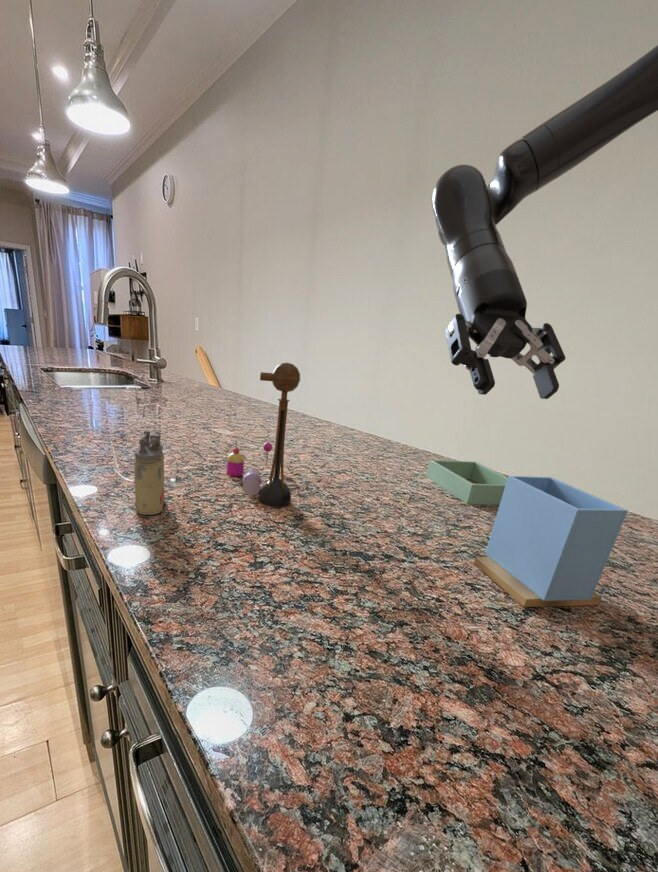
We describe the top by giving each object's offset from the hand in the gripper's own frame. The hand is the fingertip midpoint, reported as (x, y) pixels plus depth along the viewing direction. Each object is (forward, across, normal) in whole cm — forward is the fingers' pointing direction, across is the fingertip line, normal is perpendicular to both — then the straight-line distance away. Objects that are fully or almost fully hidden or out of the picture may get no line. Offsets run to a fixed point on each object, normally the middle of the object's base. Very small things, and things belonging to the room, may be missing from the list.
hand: (519, 392), depth 53 cm
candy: (-3, -28, +31) cm, 42 cm away
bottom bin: (+3, +8, +24) cm, 25 cm away
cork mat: (+22, 0, +6) cm, 22 cm away
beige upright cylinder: (+6, -44, +21) cm, 49 cm away
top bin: (+21, -1, +5) cm, 22 cm away
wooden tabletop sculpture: (+5, -26, +23) cm, 35 cm away
